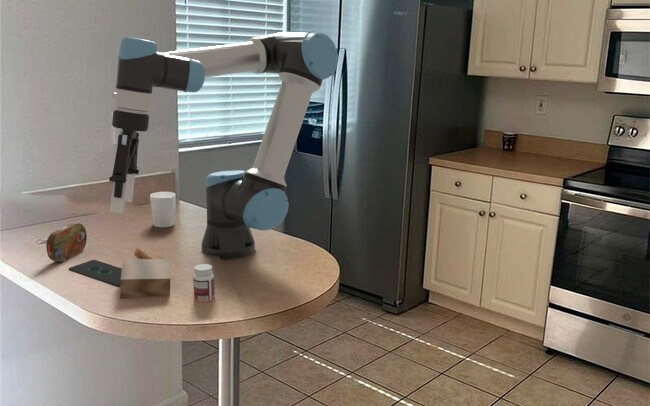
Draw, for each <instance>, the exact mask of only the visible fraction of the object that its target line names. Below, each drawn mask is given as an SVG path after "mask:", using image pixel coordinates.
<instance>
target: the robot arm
mask: <svg viewBox="0 0 650 406" xmlns="http://www.w3.org/2000/svg"><path fill="white" fill-rule="evenodd" d="M117 59H118V62H117V74H116V84H115V92H112V94H111V97H112V98H114V103H113V105H114V107H115V108H116V109H114V111H113V112H112V121H111V126H112V127H113V128H115V129H121V130H122V132H121V134H118V136H117V147H116V152H115V159H114V164H113V170H112V175H111V176H109V178H108V179H109V180H108V181H109V182H112V186H111V196H110V197H111V198H110V206H109V212H110V213H117V214H124V211H125V202H126V203H127V202H128V203H132V202H133V199H134V190H135V180H136V175H139V174H140V173H139V172H140V170H139V169H138V150H139V144H140V138H139V137H140V133H139V132H148V130H149V123H150V116H149V114H148V113H149V112H151V107H152V99H153V98H152V97H153V87H154V88H160V89H168V90H172V91H179V92H185V93H197V92H199V91H200V90H201V89H202V88H203V85H204V84H205V79H206V78H212V77H218V76H219V77H220V76H226V75H232V74H239V73H245V72H252V73H254V74H265V73H269V74H270V73H271V74H278V76H279V79H280V81H281V84H280V87H279V89H278V94H277V96H276V99H275V102H274V105H273V108H272V111H271V113H270V116H269V119H268V121H267V125H266V129H265V131H264V134H263V136H262V139H261V143H260V145H259V148H258V150H257V151H258V152H257V154H256V157H255V160H254V163H253V165H252V167H251V168H249V169H247V170H240V169H239V170H237V169H236V170H222V171H216V172H212V173H209V174H208V175H207V176H206V179H205V188H204V189H205V197H206V198H205V200H206V202H205V203H206V228H205V231H204V235H203V238H202V241H201V253H202V254H204V255H205V254H206V255H209V256H211V257H216V258H217V257H218V258H219V259H221V260H232V259H233V260H234V259H240V258H244V257H248V256H250V255H252V254H253V253H255V251H256V243H255V239H254V236H253V234H252V231H251V229H253V230H258V231H270V230H273V229H275V228H277V226H279V225H280V224H281V223H282V222H283V221H284V219H285V218H286V216H287V214H288V211H289V201H288V195H286V189H287V183H286V180H285V178H284V177H285V175H286V171H287V168H288V166H289V162H290V160H291V157H292V154H293V151H294V148H295V145H296V142H297V139H298V136H299V133H300V131H301V129H302V125H303V121H304V119H305V116H306V113H307V110H308V107H309V105H310V102H311V99H312V95H313V93H316V92H317V91H319V90H320V89H321V87H322V83H323V81H324V80H326V79H328V78H330V77H331V76H332V75H334V73H335V72H336V69H337V67H338V62H339V54H338V50H337V48H336V44H335V43H334V41H333V39H331V37H330V36H328V35H327V34H325V33H323V32H316V31H282V32H275V33H273V34H272V33H271V34H268V35H263V36H259V37H258V36H256V37H251V38H249V39H248V40H247V42H240V43H233V44H223V45H222V44H221V45H215V46H208V47H207V46H206V47H205V46H204V47H200V48H199V47H197V48H189V49H182V50H181V49H180V50H175V51H173V50H172V51H167V52H159V51H158V45H157V43H156V42H154V41H152V40H148V39H143V38H138V37H131V36H130V37H129V36H127V37H124V38H123V39H121V42H120V47H119V53H118V56H117Z"/></svg>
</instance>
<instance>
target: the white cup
mask: <svg viewBox="0 0 650 406" xmlns="http://www.w3.org/2000/svg"><path fill="white" fill-rule="evenodd" d="M149 199H150V200H149V201H150V210H151V214H152V215H151V216H152V221H153V226H154V227H156V228H169V227H173V226H175V224H176V193H175V192H173V191H156V192H153V193H151V194H150V195H149Z"/></svg>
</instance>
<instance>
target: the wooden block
mask: <svg viewBox="0 0 650 406" xmlns="http://www.w3.org/2000/svg"><path fill="white" fill-rule="evenodd" d="M121 268H122V272H121V287H120V299H121V300H123V299H135V298H147V297H160V296H170V295H171V263H170V258H163V259H162V258H156V259H155V258H152V259H139V258H138V259H135V258H134V259H132V258H131V259H127V258H126V259H122V267H121Z"/></svg>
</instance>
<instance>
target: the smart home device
mask: <svg viewBox="0 0 650 406" xmlns="http://www.w3.org/2000/svg"><path fill="white" fill-rule="evenodd" d="M68 270H69V271H71V272H74V273H78V274H80V275H82V276H85V277H88V278H92V279H95V280H97V281H101V282H103V283H107V284H108V285H109V284H110V285H112V286H115V287H118V288H121V272H122V267H119V266H116V265H112V264H109V263H106V262H104V261H103V262H102V261H101V260H100V261H99V260H96V259H91V260H88V261H85V262H82V263H79V264H77V265H73V266H71V267H69V268H68Z"/></svg>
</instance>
